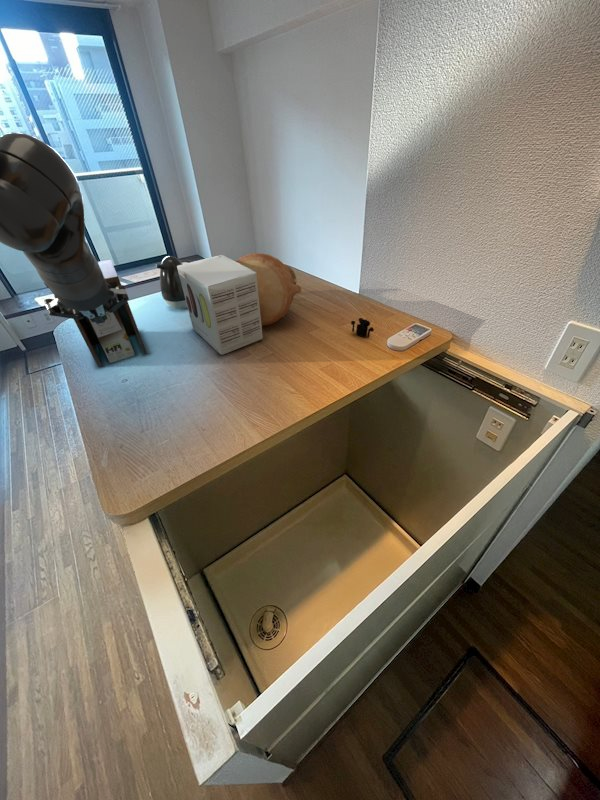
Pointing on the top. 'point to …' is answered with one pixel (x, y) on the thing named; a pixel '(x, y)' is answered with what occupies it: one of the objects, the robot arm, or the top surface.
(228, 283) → the supplement box
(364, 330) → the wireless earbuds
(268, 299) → the jug
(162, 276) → the pump dispenser
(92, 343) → the shelf
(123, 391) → the top surface
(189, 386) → the top surface
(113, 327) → the coffee box
